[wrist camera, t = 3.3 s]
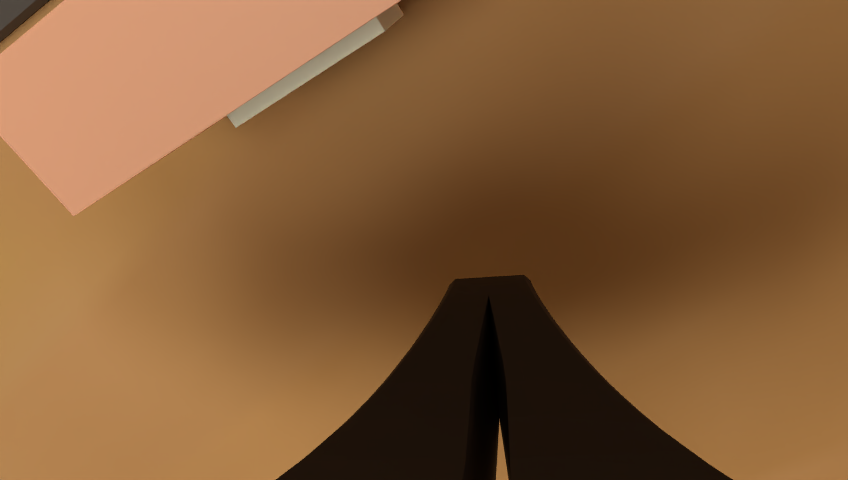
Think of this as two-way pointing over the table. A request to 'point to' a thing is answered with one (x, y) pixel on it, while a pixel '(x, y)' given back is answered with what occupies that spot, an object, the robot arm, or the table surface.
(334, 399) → the table surface
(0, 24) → the pit
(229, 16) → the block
